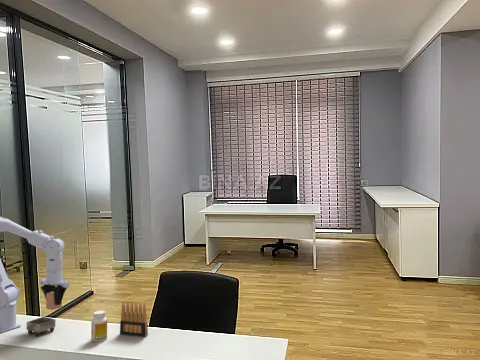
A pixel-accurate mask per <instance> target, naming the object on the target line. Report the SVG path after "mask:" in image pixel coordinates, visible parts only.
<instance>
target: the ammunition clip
mask: <svg viewBox="0 0 480 360" xmlns="http://www.w3.org/2000/svg"><path fill="white" fill-rule="evenodd" d="M120 316H121V317H120V322H119V323H120V325H119V335H122V336H133V337H142V338H146V337H147V336H149V334H148V333H149V332H148V331H149V330H148V329H149V328H148V320H147V319H148V318H147V317H148V316H147V306H146V303H143V306H142V302H140V303H139V305H138V304H137V302H135V304H134V303H133V302H131V303H130V304H129V302H128V301H127V302H126V304H125V301H123V302H122V304H121V311H120Z"/></svg>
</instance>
